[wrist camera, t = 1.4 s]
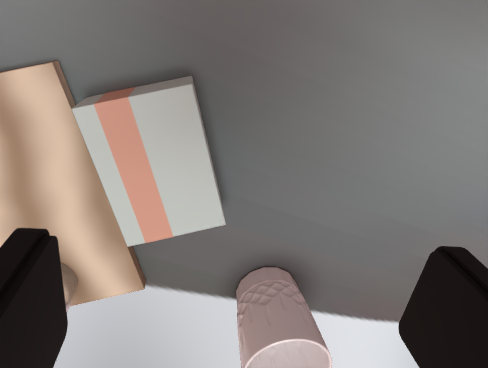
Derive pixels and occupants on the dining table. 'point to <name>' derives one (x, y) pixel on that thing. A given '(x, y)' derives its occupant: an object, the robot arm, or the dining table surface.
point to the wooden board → (59, 183)
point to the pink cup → (277, 323)
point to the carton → (152, 159)
